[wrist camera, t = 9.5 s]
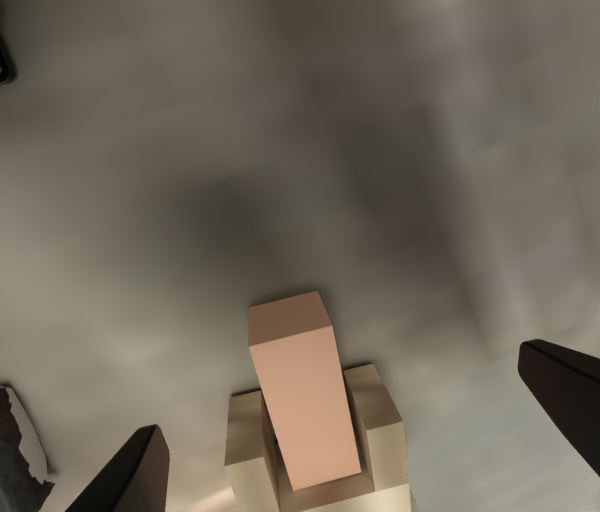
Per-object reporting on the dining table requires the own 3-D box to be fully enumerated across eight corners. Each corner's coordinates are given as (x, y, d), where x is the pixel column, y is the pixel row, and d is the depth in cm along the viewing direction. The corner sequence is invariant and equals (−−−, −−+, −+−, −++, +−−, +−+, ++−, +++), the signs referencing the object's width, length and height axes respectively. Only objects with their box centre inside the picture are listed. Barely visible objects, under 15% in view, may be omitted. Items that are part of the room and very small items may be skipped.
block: (255, 477, 24) (256, 555, 19) (229, 397, 21) (224, 466, 17) (382, 444, 24) (411, 512, 20) (372, 363, 22) (403, 421, 17)
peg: (317, 288, 20) (332, 325, 16) (343, 418, 24) (361, 472, 20) (248, 305, 20) (248, 346, 16) (286, 433, 23) (293, 491, 20)
